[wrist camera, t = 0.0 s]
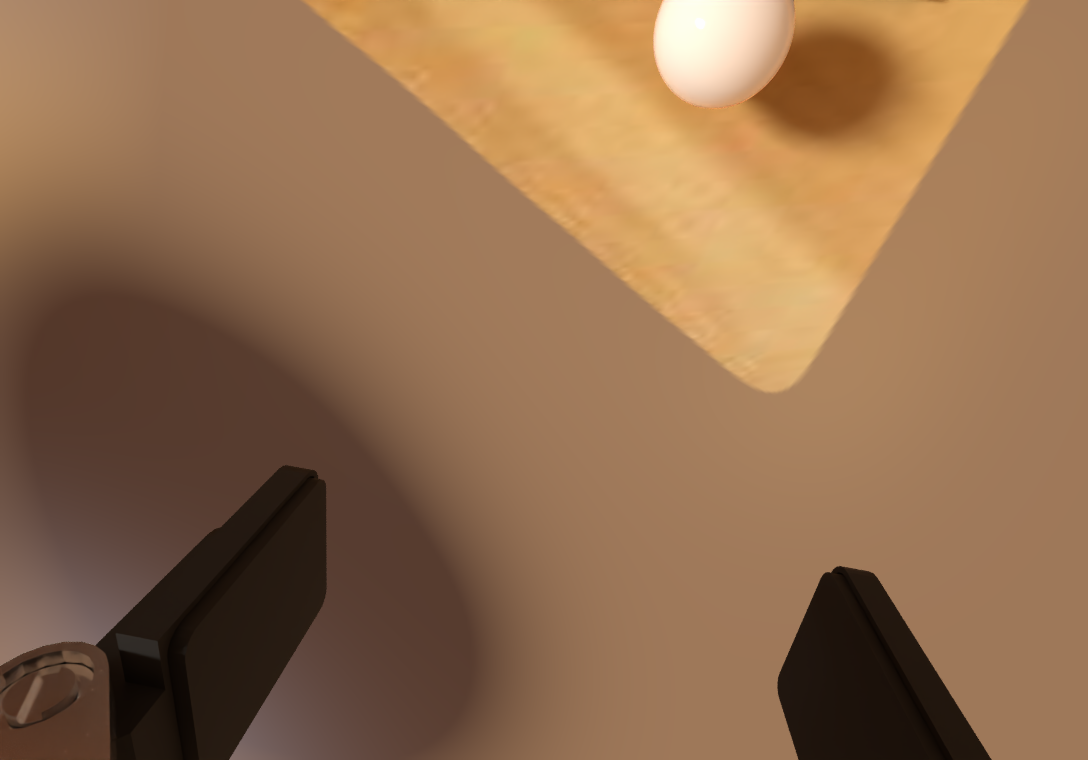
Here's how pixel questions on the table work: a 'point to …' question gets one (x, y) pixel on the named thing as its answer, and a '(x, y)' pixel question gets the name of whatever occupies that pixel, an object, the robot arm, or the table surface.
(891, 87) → the table surface
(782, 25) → the lightbulb
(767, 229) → the table surface
